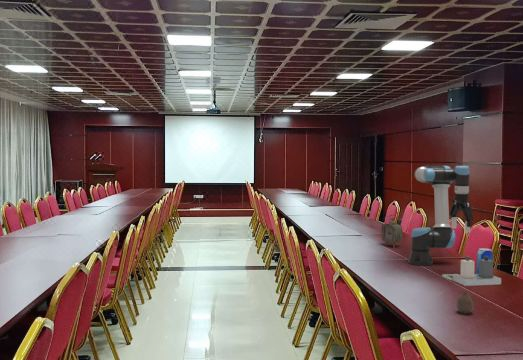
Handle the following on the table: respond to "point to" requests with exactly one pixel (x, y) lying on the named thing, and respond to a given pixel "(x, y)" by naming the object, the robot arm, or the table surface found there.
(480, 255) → the beer can
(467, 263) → the plug
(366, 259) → the table surface
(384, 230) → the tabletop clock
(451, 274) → the tray
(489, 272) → the twin plug
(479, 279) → the metal socket frame
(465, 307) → the grey rounded lump
